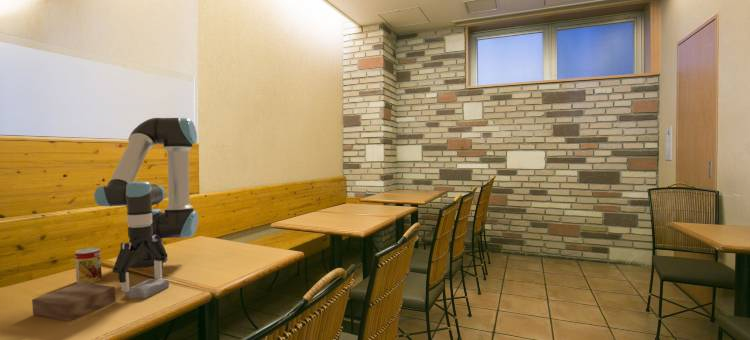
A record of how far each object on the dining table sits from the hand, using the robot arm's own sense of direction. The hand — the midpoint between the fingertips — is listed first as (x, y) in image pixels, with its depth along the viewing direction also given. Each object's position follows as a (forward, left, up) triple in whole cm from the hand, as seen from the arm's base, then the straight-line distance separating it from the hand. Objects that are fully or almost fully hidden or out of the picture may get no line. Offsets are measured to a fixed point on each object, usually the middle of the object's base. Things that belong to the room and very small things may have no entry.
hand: (142, 284), depth 136 cm
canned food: (-3, -30, -3) cm, 31 cm away
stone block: (0, +1, -3) cm, 3 cm away
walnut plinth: (+17, -9, -3) cm, 19 cm away
